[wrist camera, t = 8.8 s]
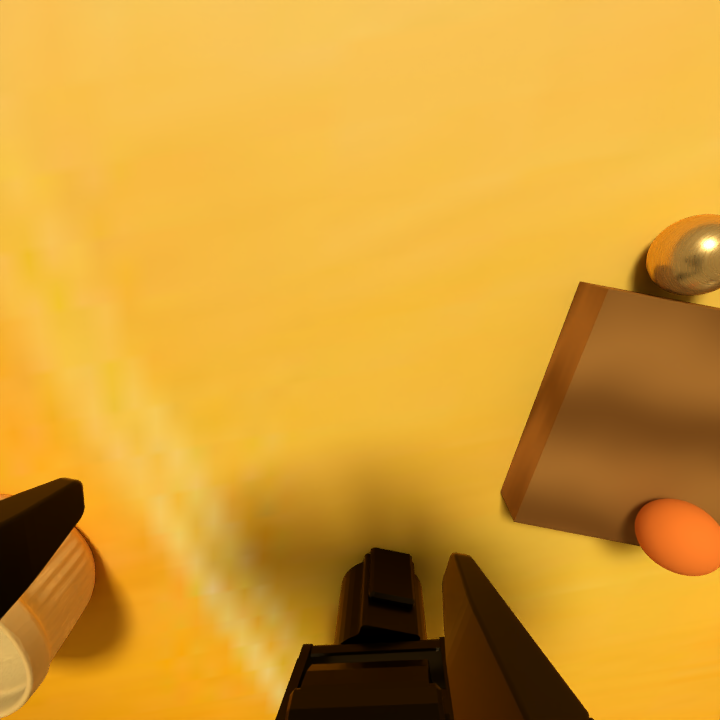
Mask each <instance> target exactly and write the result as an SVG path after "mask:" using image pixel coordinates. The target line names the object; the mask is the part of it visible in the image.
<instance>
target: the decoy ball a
mask: <svg viewBox="0 0 720 720" xmlns="http://www.w3.org/2000/svg"><path fill="white" fill-rule="evenodd" d="M646 267H647V271H648V274H649V276H650V278H651V279H652V280H653V282H654V283H655V284H656V285H658V286H659V287H660V288H662V289H664V290H666V291H668V292H671V293H674V294H679V295H700V294H705V293H709V292H712V291H715V290H717V289H720V215H714V214H703V215H696V216H691V217H688V218H684V219H682V220H679V221H677V222H675V223H674V224H672V225H670V226H669V227H667V228H666V229H665V230H663V231H662V232H661V233H660V234H659V235H658V236H657V237H656V238H655V239H654V241H653V242H652V244H651V246H650V248H649V250H648V253H647V257H646Z"/></svg>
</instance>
